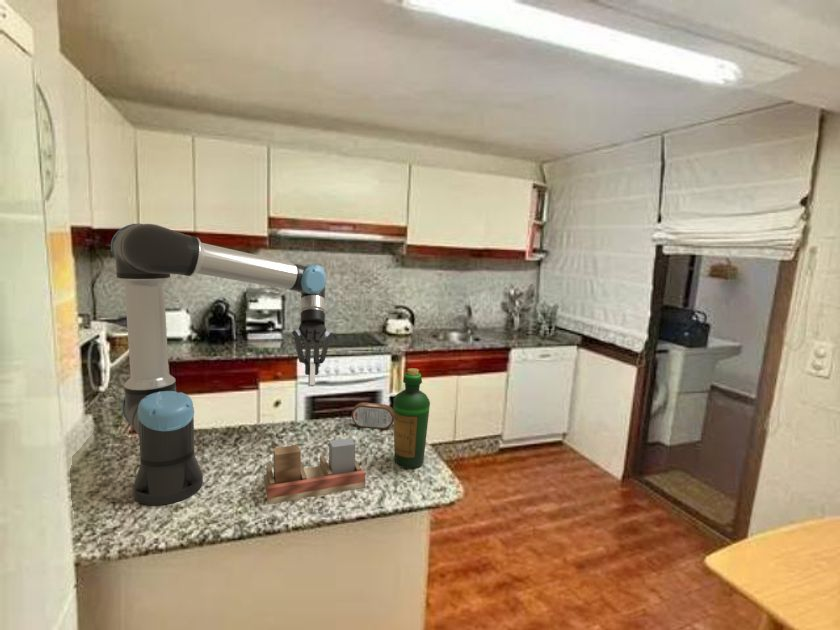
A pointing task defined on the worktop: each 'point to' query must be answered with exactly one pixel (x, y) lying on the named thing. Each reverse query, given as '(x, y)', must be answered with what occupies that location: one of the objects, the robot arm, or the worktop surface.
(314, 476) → the wooden compartment tray
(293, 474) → the brown box
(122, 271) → the robot arm
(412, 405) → the bottle
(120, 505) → the worktop surface
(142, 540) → the worktop surface
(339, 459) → the grey block
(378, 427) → the tin
